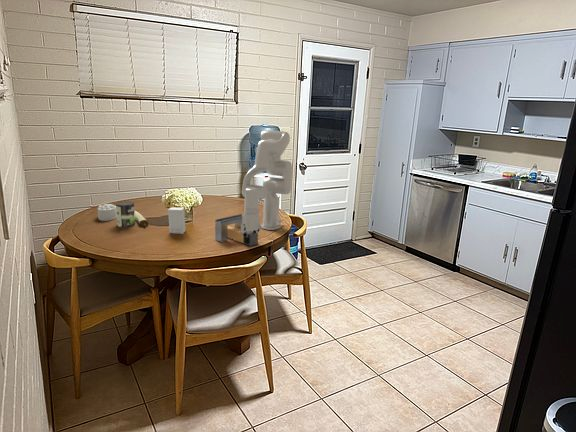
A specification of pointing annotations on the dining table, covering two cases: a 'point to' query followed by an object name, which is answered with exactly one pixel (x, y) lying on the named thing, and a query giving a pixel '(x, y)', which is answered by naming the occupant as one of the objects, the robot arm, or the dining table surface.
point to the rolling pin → (140, 219)
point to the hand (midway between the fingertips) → (250, 242)
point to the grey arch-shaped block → (226, 226)
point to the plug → (236, 235)
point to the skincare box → (176, 220)
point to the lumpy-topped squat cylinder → (107, 212)
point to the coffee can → (125, 214)
